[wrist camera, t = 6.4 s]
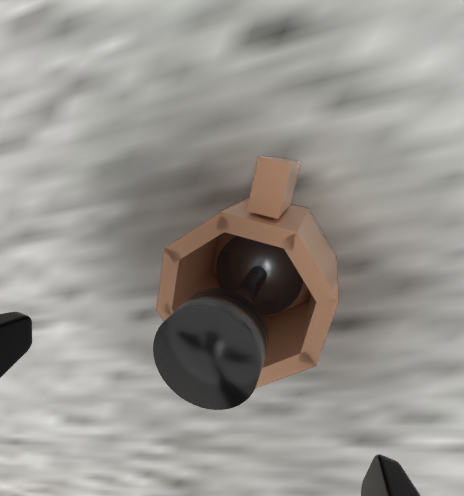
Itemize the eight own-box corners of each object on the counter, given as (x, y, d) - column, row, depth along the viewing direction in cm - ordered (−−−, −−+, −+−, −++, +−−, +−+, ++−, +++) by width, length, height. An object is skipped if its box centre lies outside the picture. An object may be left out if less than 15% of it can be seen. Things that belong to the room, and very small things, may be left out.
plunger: (314, 242, 15) (300, 320, 8) (291, 322, 16) (260, 449, 9) (227, 219, 16) (143, 269, 9) (212, 296, 17) (129, 393, 10)
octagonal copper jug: (362, 174, 15) (379, 183, 10) (310, 335, 18) (302, 406, 13) (225, 145, 16) (178, 140, 11) (198, 298, 19) (150, 348, 14)
